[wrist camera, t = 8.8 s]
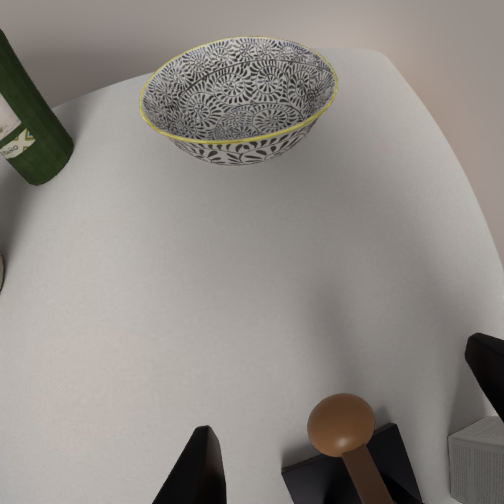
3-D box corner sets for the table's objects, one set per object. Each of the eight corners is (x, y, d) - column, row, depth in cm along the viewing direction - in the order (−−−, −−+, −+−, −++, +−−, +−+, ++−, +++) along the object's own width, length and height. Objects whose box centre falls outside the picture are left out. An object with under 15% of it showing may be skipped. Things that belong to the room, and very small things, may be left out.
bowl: (294, 80, 31) (292, 26, 25) (359, 178, 25) (376, 113, 18) (160, 114, 31) (139, 63, 24) (177, 230, 24) (141, 173, 18)
